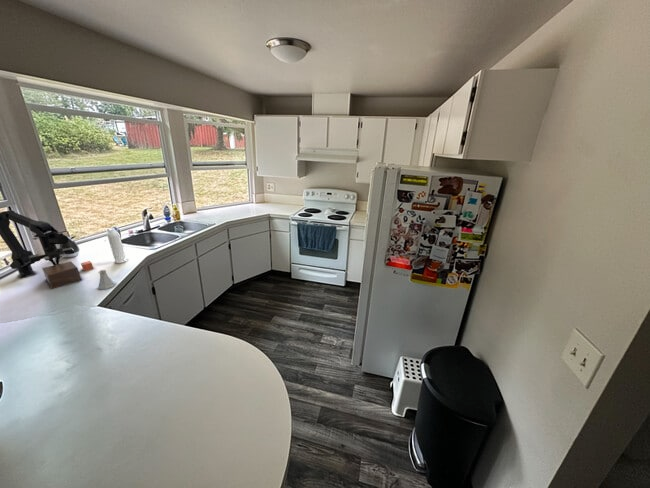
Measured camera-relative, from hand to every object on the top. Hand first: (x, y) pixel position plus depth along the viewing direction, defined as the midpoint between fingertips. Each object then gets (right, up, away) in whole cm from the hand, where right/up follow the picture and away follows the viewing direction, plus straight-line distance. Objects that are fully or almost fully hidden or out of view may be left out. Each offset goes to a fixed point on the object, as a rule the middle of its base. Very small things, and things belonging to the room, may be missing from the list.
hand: (57, 267), depth 155 cm
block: (+8, -2, +11) cm, 14 cm away
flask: (+39, -11, -8) cm, 41 cm away
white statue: (+21, +1, +23) cm, 31 cm away
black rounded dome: (-21, +5, +30) cm, 37 cm away
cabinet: (+8, -8, -3) cm, 12 cm away
